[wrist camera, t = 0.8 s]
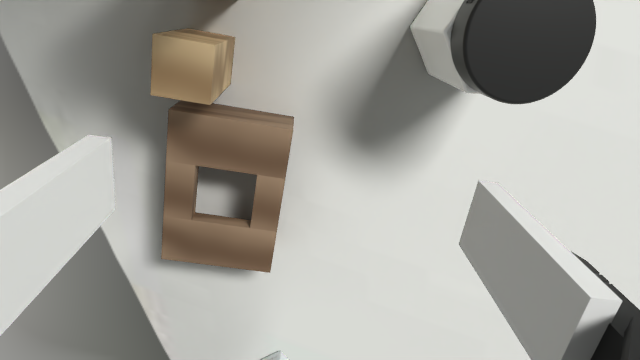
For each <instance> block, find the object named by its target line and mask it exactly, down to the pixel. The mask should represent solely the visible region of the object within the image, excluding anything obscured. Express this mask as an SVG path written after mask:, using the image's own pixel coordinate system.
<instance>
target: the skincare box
mask: <svg viewBox="0 0 640 360" xmlns="http://www.w3.org/2000/svg"><path fill="white" fill-rule="evenodd" d="M261 360H289V358H288V357H287V356H286V355H285V354H284V353H283V352H282V351H278V352H276V353H274V354H272V355H270V356H267V357H265V358H263V359H261Z"/></svg>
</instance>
